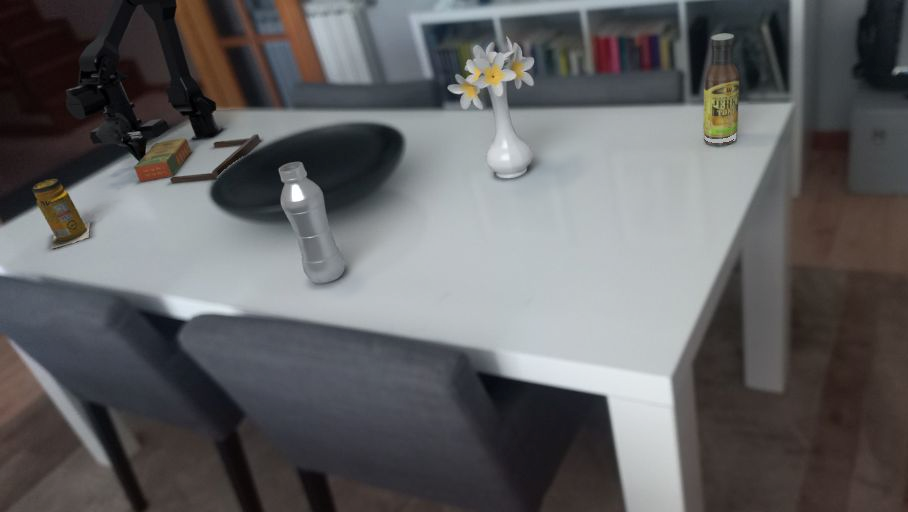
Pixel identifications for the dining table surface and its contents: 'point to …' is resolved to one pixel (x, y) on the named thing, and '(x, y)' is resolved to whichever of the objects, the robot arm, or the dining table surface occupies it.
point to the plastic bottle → (310, 224)
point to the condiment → (60, 213)
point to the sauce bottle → (721, 91)
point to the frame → (241, 151)
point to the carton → (162, 159)
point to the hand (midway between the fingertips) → (143, 163)
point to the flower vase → (498, 104)
